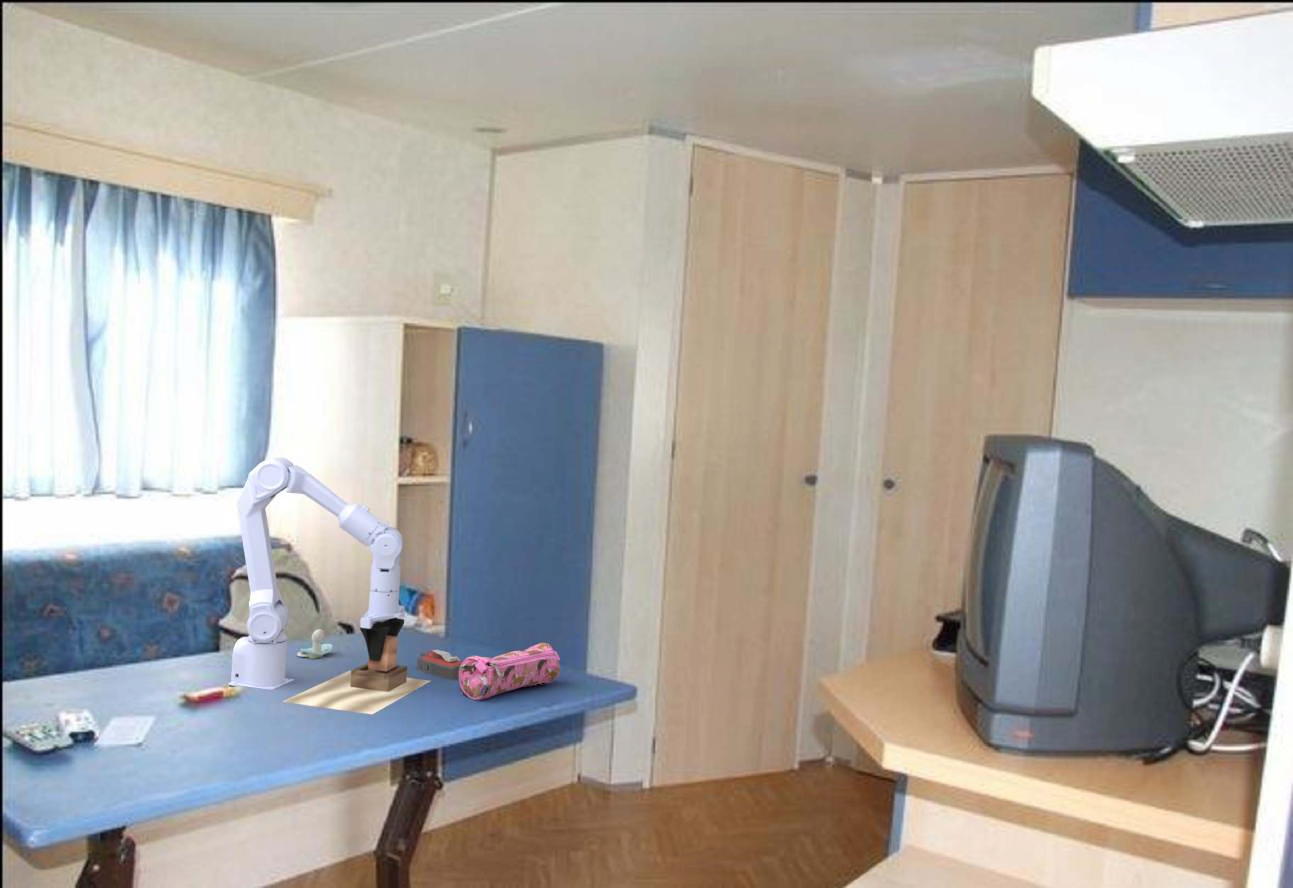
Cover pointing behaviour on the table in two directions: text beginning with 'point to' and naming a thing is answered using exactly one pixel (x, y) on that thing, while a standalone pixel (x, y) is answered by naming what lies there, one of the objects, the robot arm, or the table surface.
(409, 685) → the build mat
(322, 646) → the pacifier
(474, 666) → the pencil case
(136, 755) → the table surface
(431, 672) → the grey red box
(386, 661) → the block
